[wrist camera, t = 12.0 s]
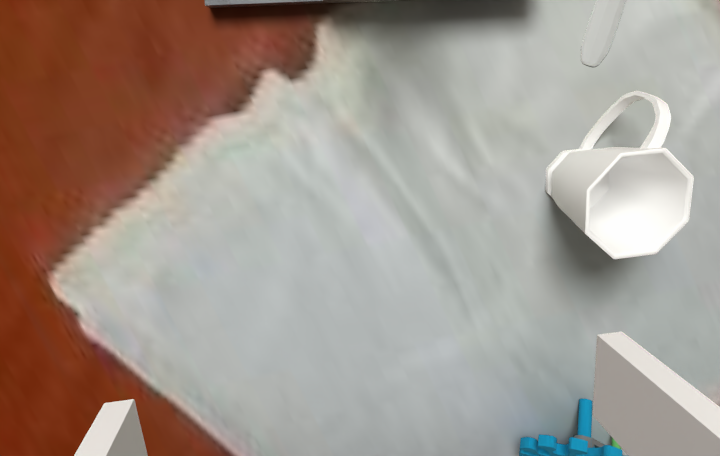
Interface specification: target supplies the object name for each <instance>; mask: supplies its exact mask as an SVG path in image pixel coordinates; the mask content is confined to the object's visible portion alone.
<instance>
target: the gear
mask: <svg viewBox="0 0 720 456" xmlns="http://www.w3.org/2000/svg"><path fill="white" fill-rule="evenodd" d="M591 425H592V401H591V400H588V399H579V415H578V435H574V436H573V437H570V438H569V444H566V445H564V444H558V443H556V442H557V438H555V437H554V436H548V435H539V438H538V441H537V440H536V439H534V438H530V437H524V438H521V442H520V452H519V456H623V455H622V450H621V447H620V446H619V445H618V443H617V442H616V441H615V440H614V439H613V438H612V446H610V445H604V444H602V443H600V442H598V441H597V440H595V439H593V438H591Z"/></svg>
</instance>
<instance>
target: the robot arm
mask: <svg viewBox="0 0 720 456" xmlns="http://www.w3.org/2000/svg"><path fill="white" fill-rule="evenodd" d="M592 415H593V416H594V418H595V419H596V420H597V421H598V422H599V423H600V424H601V425H602V427H603V428H604V429H605V430H606V431H607V432H608V433H609V434H610V436H611V437H612V438H613V439H614V440H615V441H616V442H617V443H618V445H619V446H620V447H621V448H622V449H623V450H624V451H625V452H626V454H627V455H628V456H720V407H719V406H718V405H716V404H715V403H714V402H713V401H711V400H710V399H709V398H707V397H706V396H705V395H703V394H702V393H701V392H700V391H698V390H697V389H696V388H694V387H693V386H692V385H690V384H689V383H688V382H687V381H685V380H684V379H683V378H681V377H680V376H679V375H678V374H676V373H675V372H674V371H672V370H671V369H670V368H668V367H667V366H666V365H665V364H663V363H662V362H661V361H659V360H658V359H657V358H655V357H654V356H653V355H652V354H650V353H649V352H648V351H646V350H645V349H644V348H642V347H641V346H640V345H639V344H637V343H636V342H635V341H633V340H632V339H631V338H630V337H628V336H627V335H626V334H624V333H623V332H615V333H608V334H600V335H597V346H596V363H595V380H594V397H593V414H592ZM74 456H148V455H147V451H146V447H145V443H144V439H143V434H142V430H141V426H140V422H139V418H138V413H137V409H136V405H135V401H134V399H131V400H124V401H117V402H110V403H104V405H103V407H102V408H101V410H100V412H99V413H98V415H97V417H96V419H95V420H94V422H93V424H92V426H91V427H90V429H89V431H88V432H87V434H86V436H85V438H84V439H83V441H82V443H81V445H80V446H79V448H78V450H77V451H76V453H75V455H74Z"/></svg>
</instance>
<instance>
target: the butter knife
mask: <svg viewBox="0 0 720 456" xmlns="http://www.w3.org/2000/svg"><path fill="white" fill-rule="evenodd" d="M625 2H626V0H596V2H595V4H594V7H593V10H592V13H591V16H590V19H589V22H588V25H587V28H586V31H585V34H584V38H583V42H582V45H581V62H582V64H585V65H588V66H593V67H596V66H598V65H599V64H600V63H601V61H602V60H603V59H604V58H605V56H606V55H607V53H608V51H609V49H610V47H611V44H612V41H613V39H614V36H615V33H616V31H617V28H618V25H619V22H620V18H621V15H622V12H623V9H624V6H625Z"/></svg>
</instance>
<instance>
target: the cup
mask: <svg viewBox="0 0 720 456" xmlns="http://www.w3.org/2000/svg"><path fill="white" fill-rule="evenodd" d="M641 99H647V100H648V101H650V102H651V103H652V104H653V108H654V111H655V114H656V118H655V124H654V126H653V127H652V129H651V131H650V133H649V134H648V136H647V138H646V140H645V141H644V142H643V144H642V145H641V147H640V148H632V147H609V148H600V149H593V146H594V144H595V142H596V141H597V140H598V138H599V137H600V136H601V134H602V133H603V132H604V130H605V129H606V128H607V127H608V126H609V125H610V124H611V123H612V122H613V121H614V120H615V119H616V118H617V117H618V115H619V114H620V113H621V112H622V111H623V110H625V109H626V108H627V107H628V106H629V105H631V104H632V103H633V102H635V101H638V100H641ZM670 121H671V114H670V111H669V108H668V105H667V103H666V102H664V101H663V100H661V99H660V98H658V97H657V96H654V95H651V94H648V93H645V92H640V91H634V92H630V93H627V94H625V95H623V96H622V97H621V98H620V99H618V100H617V101H616V102H615V103H613V104H612V106H611V107H610V108H609V109H608V110H607V111H606V112H605V113H604V114H603V115H602V116H601V118H600V119H599V120H598V121H597V122H596V123H595V124H594V126H593V127H592V128H591V130H590V131H589V133H588V134H587V135H586V137H585V138H584V139H583V142H582V144H581V146H580V149H575V150H566V151H562V152H561V153H560V154H559V155H558V156H557V157H556V158H555V159H554V160H553V162H552V163H551V164H550V165H549V166H548V167H547V168H546V188H545V191H546V192H547V193H548V194H549V195H550V196H551V197H552V198H553V199H554V201H555V202H556V204H557V206H558V207H559V208H560V209H561V210H562V211H563V212H564V213H565V214H566V215H567V216H568V217H569V218H570V219H571V220H572V221H573V222H574V223H575V224H576V225H577V226H578V227H579V228H580V229H581V230H582V231H583V232H584V233H585V234H586V235H587V236H588V237H589V238H590V239H592V240H593V241H594V242H595V243H596V244H597V245H598V246H599V247H601V248H602V249H603V250H604V251H605V252H606V253H607V254H608V255H609V256H611V257H612V258H613V259H621V258H629V257H637V256H644V255H652V254H657V253H658V252H659V251H660V250H661V249H662V248H663V247H664V246H665V245H666V244H667V243H668V242H669V240H670V239H671V238H672V237H673V236H674V235H675V234H676V233H677V232H678V231H679V230H680V229H681V228H682V227H683V226H684V225H685V224H686V223H687V222H688V221H689V217H690V208H691V199H692V189H693V180H694V176H693V175H692V174H691V173H690V172H689V171H688V170H687V169H686V168H685V167H684V166H683V165H682V164H681V163H680V162H679V161H678V160H677V159H676V158H675V157H674V156H673V155H672V154H671V153H670V152H669V151H668V150H667V149H666V148H661V146H662V144H663V143H664V140H665V138H666V135H667V132H668V130H669V127H670Z"/></svg>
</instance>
